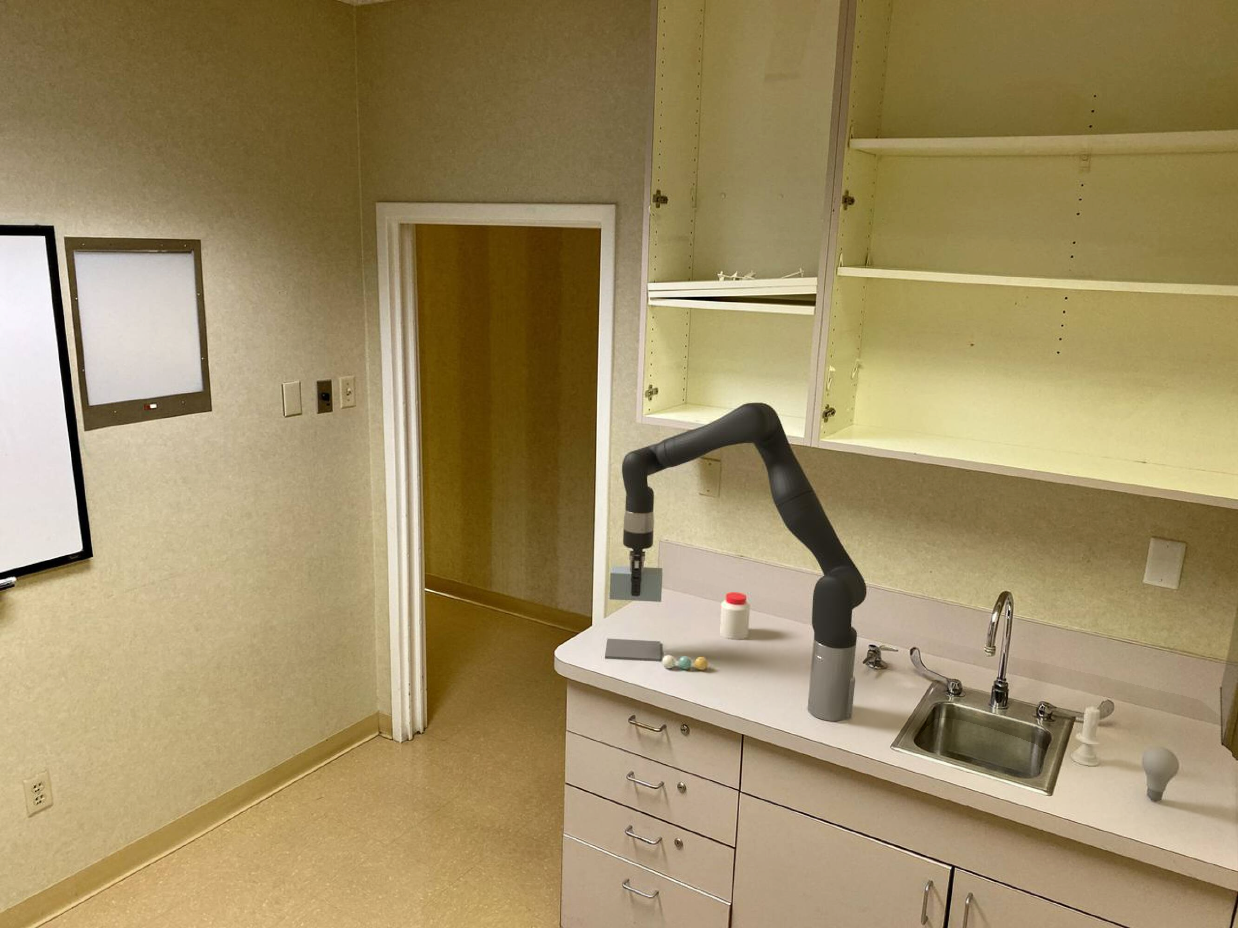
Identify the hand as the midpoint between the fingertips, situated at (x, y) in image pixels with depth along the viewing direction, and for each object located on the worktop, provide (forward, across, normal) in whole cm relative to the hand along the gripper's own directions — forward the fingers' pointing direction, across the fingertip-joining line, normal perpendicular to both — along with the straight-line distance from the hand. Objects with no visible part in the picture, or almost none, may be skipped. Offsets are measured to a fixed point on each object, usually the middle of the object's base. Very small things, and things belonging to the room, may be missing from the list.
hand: (635, 590), depth 229 cm
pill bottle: (+16, +14, -27) cm, 35 cm away
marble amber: (+16, -9, -17) cm, 25 cm away
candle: (+16, -42, -95) cm, 106 cm away
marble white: (+16, -9, -9) cm, 21 cm away
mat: (+16, 0, 0) cm, 16 cm away
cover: (+1, 0, 0) cm, 1 cm away
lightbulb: (+16, -56, -102) cm, 118 cm away
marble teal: (+16, -9, -13) cm, 23 cm away
